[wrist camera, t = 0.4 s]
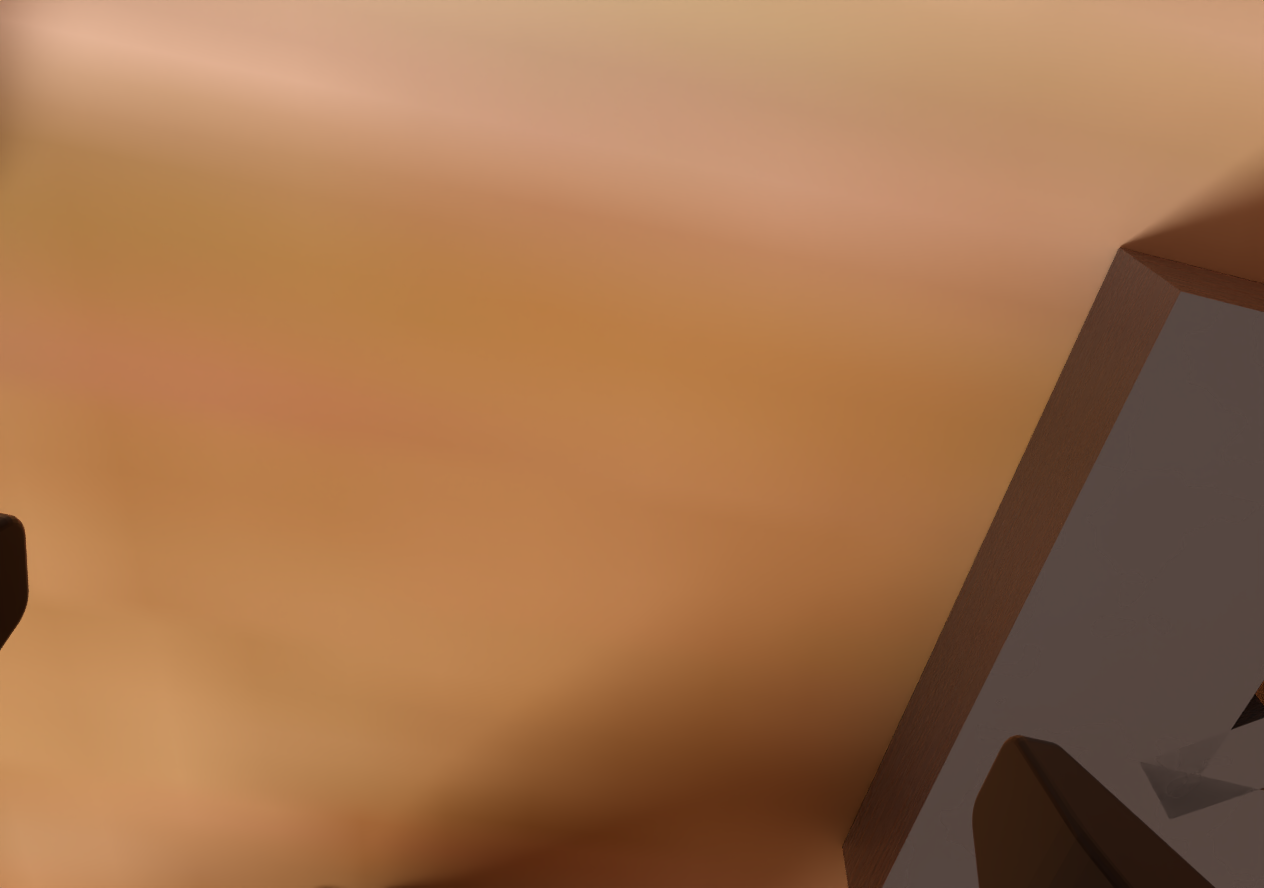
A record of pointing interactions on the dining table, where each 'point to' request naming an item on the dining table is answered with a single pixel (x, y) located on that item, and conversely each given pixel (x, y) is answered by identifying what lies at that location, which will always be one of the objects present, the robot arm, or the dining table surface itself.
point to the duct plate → (1109, 597)
